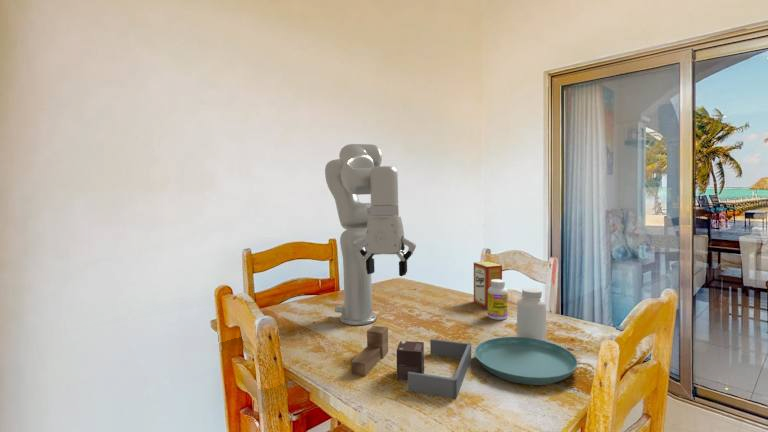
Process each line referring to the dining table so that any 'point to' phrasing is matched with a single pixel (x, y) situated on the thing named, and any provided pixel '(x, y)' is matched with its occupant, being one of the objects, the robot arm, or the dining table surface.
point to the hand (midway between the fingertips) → (386, 274)
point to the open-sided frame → (438, 383)
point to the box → (409, 359)
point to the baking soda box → (484, 280)
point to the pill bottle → (531, 315)
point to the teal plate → (526, 360)
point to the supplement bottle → (497, 300)
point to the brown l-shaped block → (371, 351)
